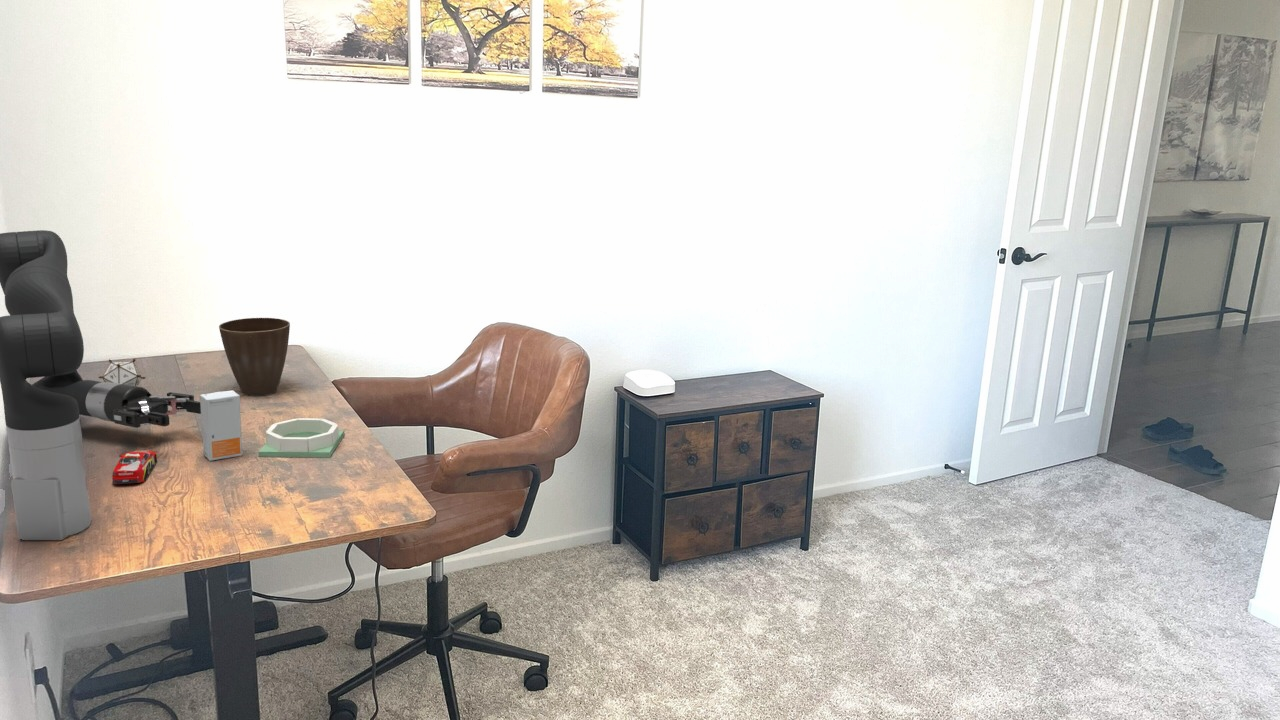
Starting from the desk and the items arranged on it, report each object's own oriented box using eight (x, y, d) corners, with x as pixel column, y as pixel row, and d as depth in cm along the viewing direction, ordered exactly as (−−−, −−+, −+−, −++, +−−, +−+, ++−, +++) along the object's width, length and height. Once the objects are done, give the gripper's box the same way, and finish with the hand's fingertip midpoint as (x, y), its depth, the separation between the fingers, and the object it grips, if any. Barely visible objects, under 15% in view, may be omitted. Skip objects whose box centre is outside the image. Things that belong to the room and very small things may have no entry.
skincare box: (209, 462, 168) (205, 399, 165) (203, 455, 171) (198, 394, 168) (244, 455, 172) (240, 395, 169) (237, 449, 175) (233, 389, 172)
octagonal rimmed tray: (329, 457, 173) (329, 439, 172) (258, 456, 172) (257, 439, 171) (344, 434, 186) (343, 418, 185) (278, 434, 184) (277, 417, 183)
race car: (128, 462, 167) (126, 441, 166) (160, 460, 169) (159, 440, 168) (107, 489, 155) (105, 466, 154) (142, 487, 156) (140, 465, 155)
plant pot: (251, 405, 201) (246, 334, 198) (209, 392, 209) (204, 324, 205) (307, 390, 214) (303, 324, 210) (266, 379, 221) (262, 314, 217)
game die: (128, 412, 204) (119, 386, 197) (95, 396, 205) (85, 368, 197) (157, 385, 210) (149, 358, 202) (125, 369, 211) (116, 342, 203)
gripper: (84, 393, 169) (153, 405, 165) (147, 375, 183) (212, 386, 178) (89, 432, 171) (157, 444, 167) (150, 411, 184) (215, 422, 180)
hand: (185, 414), depth 172 cm, fingers open, 8 cm apart
